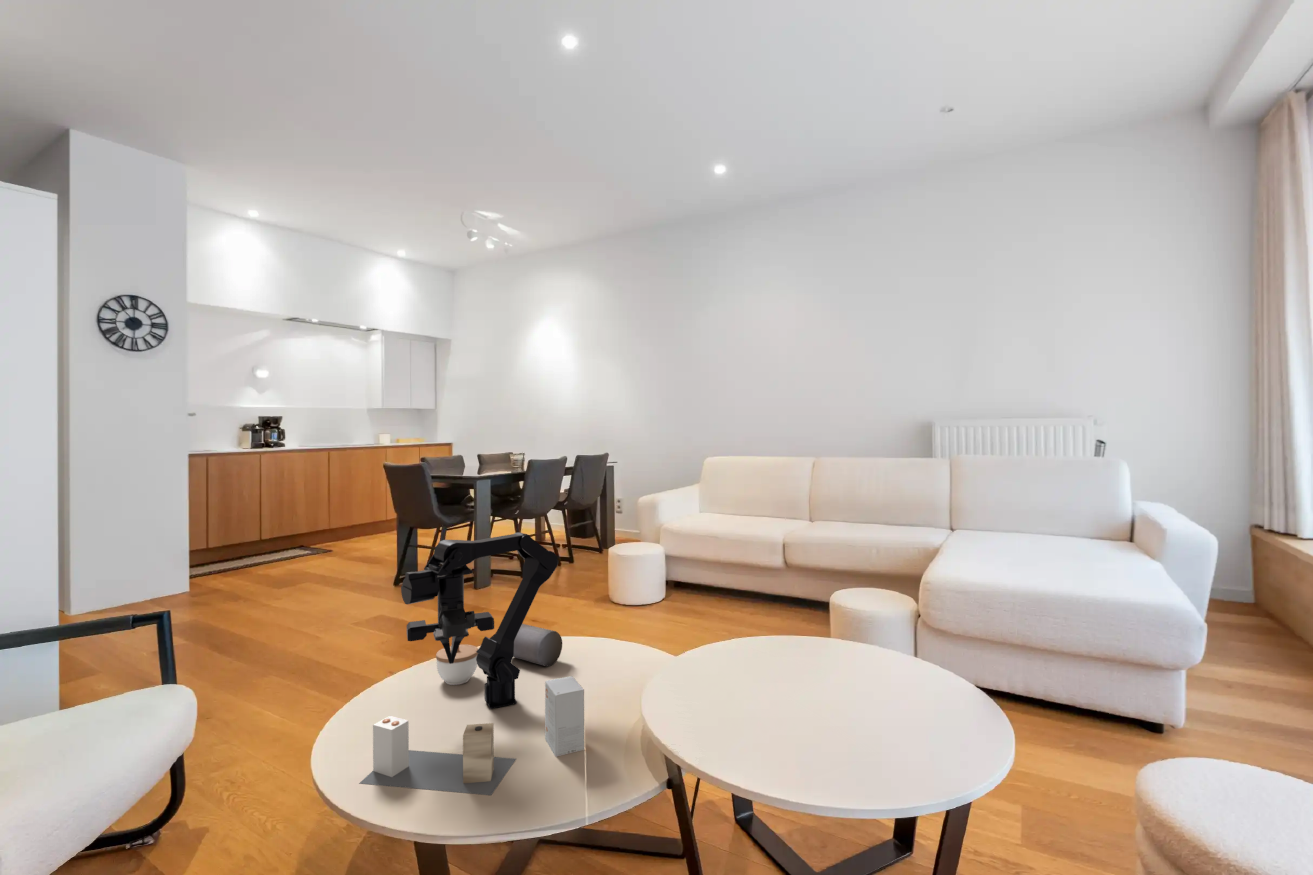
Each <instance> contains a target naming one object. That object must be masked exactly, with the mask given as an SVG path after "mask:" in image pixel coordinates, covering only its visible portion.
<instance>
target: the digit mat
mask: <svg viewBox="0 0 1313 875" xmlns="http://www.w3.org/2000/svg"><path fill="white" fill-rule="evenodd" d="M516 760H517V758H514V757H512V758H510V757H501V756H500V757H499V756H494V770H493V774H492V778H491V781H487V782H475V783H463V753H462V754H461V753H453V752H452V753H448V752H437V751H436V752H435V751H425V750H413V749H409V766H408V767H407V768H405V769H404V770H402V771H401V772H399V773H398V774H396V775H395V776H393V777H390V776H387V775H384V774H381V773H378V772H374V771H373V770H372V771H371V772H369V774H368V775H366V776H365V777H364V778H363V779H362V780H361V781H360V782H359V783H358V784H361V785H372V786H382V787H391V788H392V787H393V788H403V789H413V790H414V789H417V790H428V791H436V792H437V791H438V792H440V791H441V792H449V793H450V792H452V793H461V794H462V793H463V794H471V795H483V796H492V795H493V794H494V792H495V790H496V789H497V787H498V786H499V785H500V783H501V782H502V780H503V779H504V778H505V776H506V775H507V773H508V772H509V770H510V769H511V767H512V766H513V765H514V763H515V762H516Z"/></svg>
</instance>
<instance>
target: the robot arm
mask: <svg viewBox="0 0 1313 875" xmlns="http://www.w3.org/2000/svg"><path fill="white" fill-rule="evenodd" d="M516 551H517V553H518V554H519V556H520V557H521V558H523V560H524V562H523V566H522V579H521V581H520V584H519V585H518V587H517V590H516V592H515V593H514V596H513V597H512V599H511V602H510V604H509V606H508V607H507V610H506V612H505V614H504V616H503V618H502V620H501V622H500V624H499V626H498V627H497V630H496V632H495V633H494V634H493V635H491V636H490V637H488V636H484V638H482V642H481V644H480V646H479V648H478V650H477V651H476V652H477V653H478V655H477V657H476V661H477V667H478V668H479V669H481V671H482V673H483V674H484V675H486V682H485V683H484V701H485V704H486V705H487V706H488V708H489V709H491V710H492V709H497V708H503V707H507V706H512V705H516V704H517V699H516V680H517V679H519V676H520V672H521V669H520V668H519V667H517V666H516V665H515V664H514V663H512V660H513V658H514V657H513V655H514V640H515V638H516V636H517V634H518V631H519V629H520V627H521V625H522V624H524V621H525V619H526V616H527V615H528V613H529V610H530V608H531V607H532V604H533V602H534V601H535V598H536V596H537V594H538V591H539V590H540V587H541V586H542V585H543V584H544V583H545V582H548V580H549V579H550V578H551V577H552V575H553V574H554V572H555V570H556V569H557V568H558V564H559V560H558V556H557V554H556V553H555V552H554V551H551V550H548V549H547V548H546V547H544V546H543V545H541V544H540V543H539V542H537V541H536V540H535V539H533V537H532V536H530V534H527V533H523V532H520V531H519V532H515V533H513V534H512V533H511V534H505V535H501V536H500V535H499V536H493V537H488V538H482V539H476V540H463V539H443V540H440V541H439V542H438V543H437V545H436V546H435V547H434V550H433V554H432V556H431V557H430V559H429V560H428V561H427V563H426V564H425V566H424V567H423V570H419V571H408V572H405V573H404V575H405V576H404V579H403V580H402V584H401V586H400V593H401V597H402V601H403V603H404V604H405V605H412V604H416V603H421V602H428V601H432V600H434V599H435V598H436V597H437V622H436V623H435V622H433V623H429V624H428V623H426V620H425V619H423V620H416V621H414V620H413V621H410V622H408V623H407V624H406V638H407V642H416V641H422V640H423V641H424V639H425V638H426V637H428V636H427V634H433V638H434V640H435V641H436V642H438V641H439V642H440V643H441V645H442V647H443V648H444V649H445V652H446V655H447V657H448V660H449V663H450V664H451V663H453V662H454V659H455V656H456V653H457V650H458V648H459V645H461V644H462V641H463V639H464V638H466V637H469V636H470V633H469V631H468V630H469V629H472V628H474V627H476V629H478V630H479V631H480V632H486V631H492V630H494V629H495V618H494V617H493V615H492V614H491V612H489V611H484V612H476V613H475V611H474V610H469V611H465V610H466V609H465V603H464V602H465V584H464V582H465V581H464V580H465V579H464V578H465V577H464V576H465V575H470V574H473V573H474V571H473V569H471V568H470V567H468V564H471V563H473V562H474V561H475V560H479V559H480V558H485V557H490V556H494V555H499V554H501V555H502V554H507V553H510V552H516ZM440 565H441V566H440ZM450 638H451V645H450ZM450 646H451V650H450Z"/></svg>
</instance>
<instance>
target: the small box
mask: <svg viewBox="0 0 1313 875" xmlns="http://www.w3.org/2000/svg"><path fill="white" fill-rule="evenodd" d="M544 682H545V683H544V692H545V693H544V695H545V696H544V697H545V698H544V699H545V700H544V708H545V709H544V713H545V715H544V716H545V718H544V720H545V721H544V722H545V723H544V725H545V726H544V727H545V729H544V733H545V734H544V736H545V737H544V739H545V742H546V743H547V745H548V747H549V748H550V750H551V752H552V754H553V755H554V757H560V756H564V755H568V754H572V753H576V752H579V751H585V689H584V688H583V687H582V685H581V684H580V683H579V681H577V680H576V679H575V677H574V676H573V675H571V676H564V677H559V678H553V679H547V680H545V681H544Z"/></svg>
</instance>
